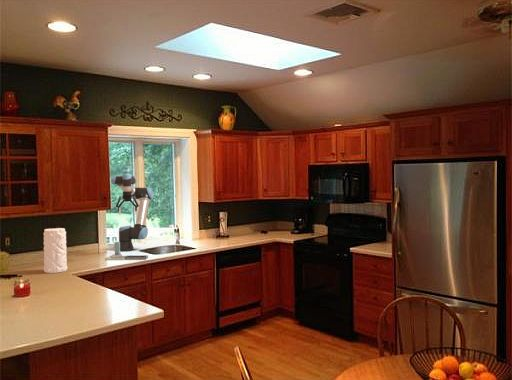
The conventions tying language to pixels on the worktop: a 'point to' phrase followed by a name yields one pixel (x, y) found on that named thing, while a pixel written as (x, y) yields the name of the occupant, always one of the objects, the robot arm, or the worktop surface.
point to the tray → (114, 258)
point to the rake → (117, 248)
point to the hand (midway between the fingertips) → (127, 214)
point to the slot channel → (136, 257)
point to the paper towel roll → (55, 250)
